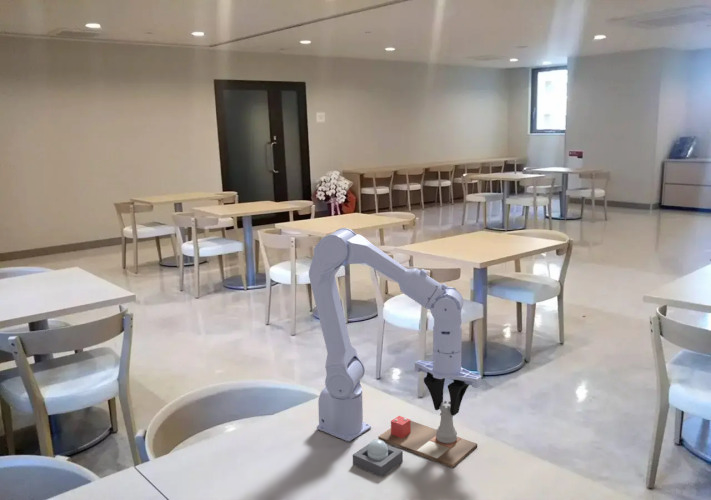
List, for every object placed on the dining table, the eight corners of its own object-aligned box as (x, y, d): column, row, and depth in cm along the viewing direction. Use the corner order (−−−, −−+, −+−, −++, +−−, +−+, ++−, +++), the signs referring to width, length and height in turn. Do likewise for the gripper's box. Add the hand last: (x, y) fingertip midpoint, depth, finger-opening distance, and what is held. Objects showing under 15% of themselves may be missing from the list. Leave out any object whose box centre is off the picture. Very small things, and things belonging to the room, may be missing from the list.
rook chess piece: (458, 444, 121) (458, 408, 119) (436, 444, 121) (436, 408, 120) (456, 434, 125) (457, 399, 123) (435, 433, 125) (435, 398, 124)
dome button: (363, 462, 115) (363, 441, 115) (375, 453, 118) (375, 433, 118) (379, 469, 113) (379, 448, 112) (392, 460, 116) (391, 439, 115)
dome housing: (352, 464, 115) (352, 454, 115) (374, 449, 121) (374, 440, 120) (381, 477, 111) (381, 466, 111) (402, 461, 116) (402, 451, 116)
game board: (378, 439, 125) (378, 436, 125) (405, 421, 132) (405, 418, 132) (452, 467, 114) (452, 464, 114) (477, 446, 121) (477, 443, 121)
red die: (390, 433, 126) (390, 419, 125) (399, 428, 128) (399, 414, 127) (402, 438, 124) (402, 423, 123) (410, 432, 126) (410, 418, 126)
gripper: (406, 346, 121) (406, 408, 123) (469, 362, 112) (468, 428, 114) (424, 337, 126) (424, 396, 129) (486, 351, 117) (485, 415, 120)
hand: (446, 410), depth 122 cm, fingers closed on rook chess piece, 3 cm apart
